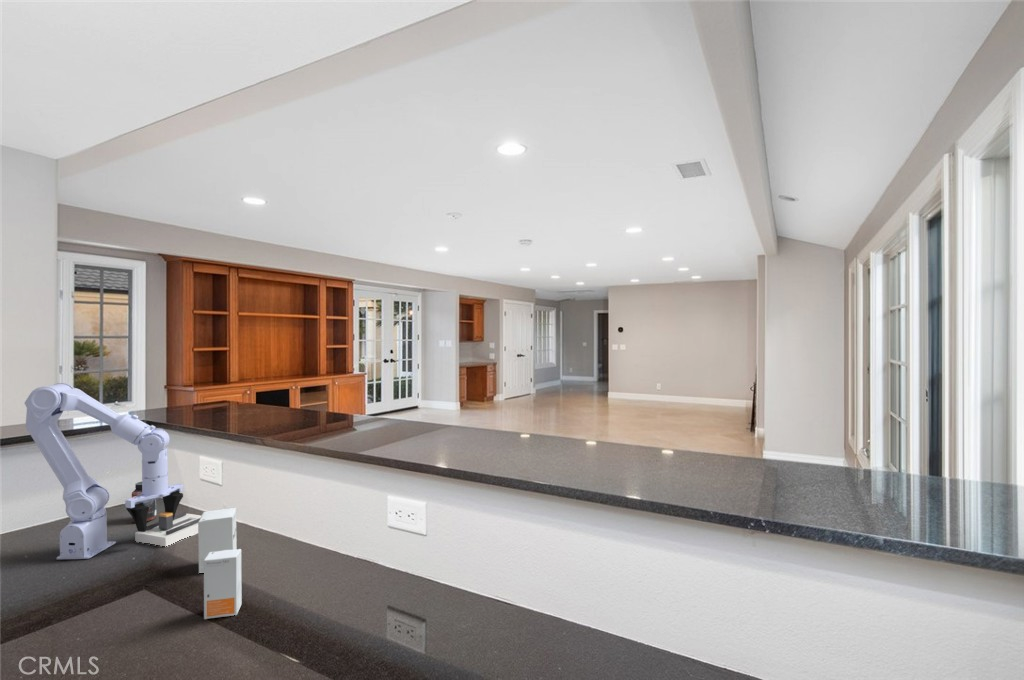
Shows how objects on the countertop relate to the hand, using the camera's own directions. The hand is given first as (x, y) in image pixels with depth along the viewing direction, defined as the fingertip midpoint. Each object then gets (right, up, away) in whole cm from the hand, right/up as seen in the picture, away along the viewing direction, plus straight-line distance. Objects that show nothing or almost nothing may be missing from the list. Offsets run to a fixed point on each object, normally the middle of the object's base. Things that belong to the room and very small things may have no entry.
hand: (156, 525), depth 138 cm
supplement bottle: (-15, -4, +16) cm, 22 cm away
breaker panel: (+2, -4, +6) cm, 7 cm away
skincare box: (+37, -5, -34) cm, 51 cm away
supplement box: (+24, -5, -14) cm, 28 cm away
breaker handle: (+1, -2, +3) cm, 3 cm away
